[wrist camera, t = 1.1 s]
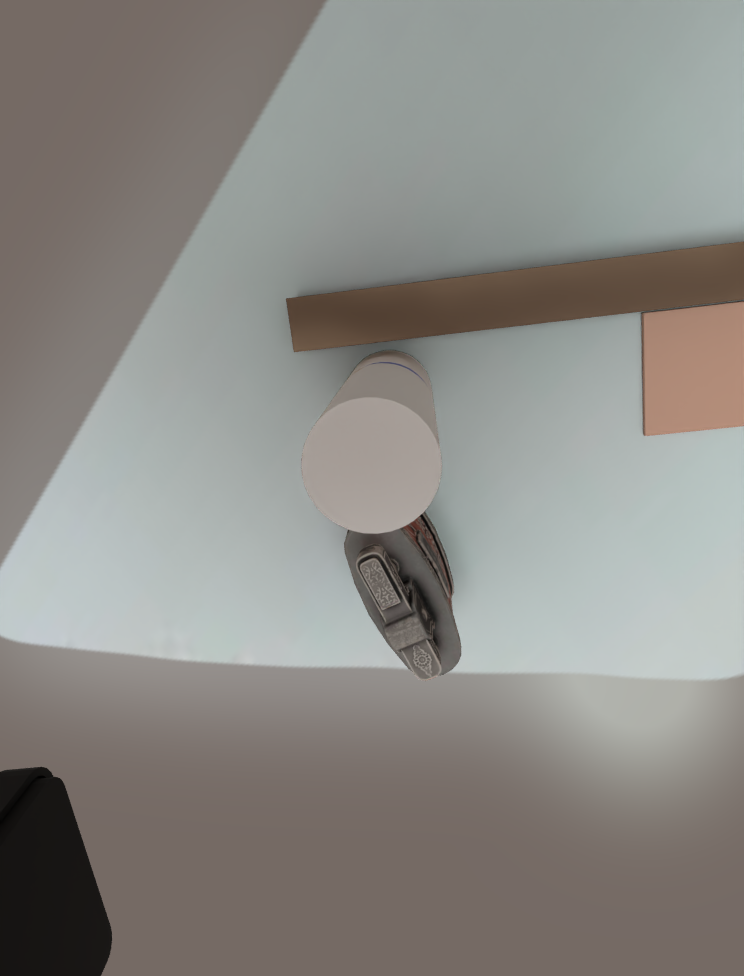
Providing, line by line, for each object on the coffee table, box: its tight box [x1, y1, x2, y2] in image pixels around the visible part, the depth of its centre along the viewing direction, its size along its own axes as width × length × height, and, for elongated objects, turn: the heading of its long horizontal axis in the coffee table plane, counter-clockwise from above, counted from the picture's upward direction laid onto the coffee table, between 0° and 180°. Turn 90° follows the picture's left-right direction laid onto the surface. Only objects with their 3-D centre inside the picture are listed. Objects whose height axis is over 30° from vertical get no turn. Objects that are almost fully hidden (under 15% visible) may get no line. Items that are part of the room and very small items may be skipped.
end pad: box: [642, 301, 744, 436], centre depth 34 cm, size 6×7×1 cm
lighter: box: [344, 511, 461, 681], centre depth 33 cm, size 8×3×10 cm, turn 27°
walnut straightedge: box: [286, 242, 744, 352], centre depth 33 cm, size 2×24×3 cm, turn 97°
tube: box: [301, 350, 442, 534], centre depth 29 cm, size 4×4×15 cm
